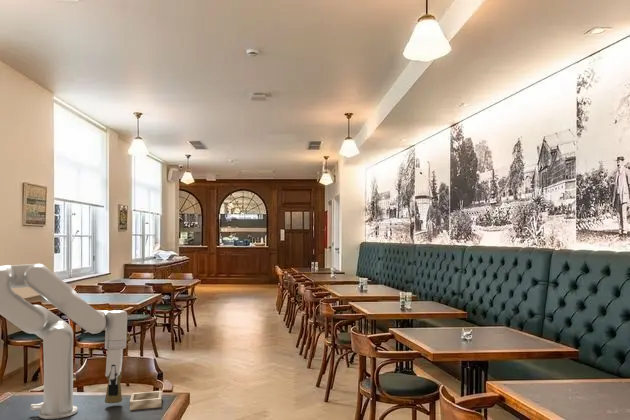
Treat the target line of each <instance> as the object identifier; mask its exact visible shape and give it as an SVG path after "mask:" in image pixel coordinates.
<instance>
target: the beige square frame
mask: <svg viewBox="0 0 630 420" xmlns="http://www.w3.org/2000/svg"><path fill="white" fill-rule="evenodd" d="M162 393H163V391H162V390H155V391H153V390H152V391H145V392H134V393H131V396H130V400H129V410H130V411H133V410H135V411H136V410H145V409H155V408H162V403H163V402H162V401H163V394H162Z"/></svg>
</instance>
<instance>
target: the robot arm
mask: <svg viewBox="0 0 630 420" xmlns="http://www.w3.org/2000/svg"><path fill="white" fill-rule="evenodd" d="M20 288H30V289H31V290H33V291H34V292H35V293H37V294H38V295H40V296H41V297H42V298H43V299H45V300H46V301H47V302H49V303H50V304H51V305H52V306H54V307H55V308H56V309H57V310H58V311H60V312H61V313H63V314H64V315H65V316H67V317H68V318H69V319H70V320H71V321H73V322H74V323H75V324H76V325H78V326H79V327H81V329H83V330H84V331H86V332H88V333H90V334H99V333H101V332H102V331H103V330H105V336H104V349H105V350H107V351H106V363H105V364H106V366H105V377H106V378H107V376H109V374H110V380H109V393H108V395H109V396H117V395H118V384H117V382H118V376H119V375H120V372H121V373H122V366H123V356H124V355H123V354H124V353H123V352H124V349H126V348H127V336H128V335H127V334H128V332H127V331H128V312H127V311H126V310H121V309H114V310H102V309H95V308H94V307H93V306H91V305H90V304H89V303H87V302H86V301H85V300H84V299H83V298H82V297H81V296H80V295H79V294H78V293H77V291H76V290H75V289H74V288H73V287H72V286H71V285H69V284H68V283H67V282H65V281H64V280H63V279H62V278H60V277H59V276H57V274H55V273H54V272H52V271H51V270H50V269H49V267H48V266H46V265H45V264H43V263H30V264H28V263H27V264H10V265H9V264H6V265H0V316H2V317H3V318H5V319H6V320H7V321H8V322H11V323H12V324H13V325H14V326H16V327H17V328H19V329H20V330H21V331H23V332H24V333H26V334H30V335H32V334H33V335H35V336H37V337H38V338H40V339H42V340H43V341H42V343H43V344H42V345H43V346H42V348H43V350H42V351H43V402H40V403H31V404H30V409H29V410H30V411H32V412H36V411H39V412H38V417H39V418H41V419H44V420H56V419H62V418H63V419H64V418H68V417H70V416H72V415H75V414H76V413H77V412H78V409H79V408H78V407H77V406H76V405H74V360H73V359H74V330H73V328H72V326H71V325H70V324H69V323H68V322H67V321H65V320H64V319H62V318H60V316H58V315H57V314H55V313H53V312H52V311H51V310H49V309H48V308H46V307H44V306H43V305H40V304H32V303H31V302H30V301H27V300H26V299H24V297H22V296H21V295H19V294H18V293H16V292H15V291H14V290H13V289H20ZM116 372H117V376H115V374H116Z"/></svg>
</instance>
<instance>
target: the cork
mask: <svg viewBox="0 0 630 420" xmlns="http://www.w3.org/2000/svg"><path fill="white" fill-rule="evenodd" d="M115 376H117V372H116V374H115ZM122 376H123V374H122V371H121V372H120V375H119V376H118V382H117V384H118V395H117V396H109V395H108V393H109V380H110V374H109V376H107V377H106V379H107V381H108V383H107V386H106V392H105V393H106V394H105V400H104V403H105V404H118V403H121V402H122V401H123V397H122V386H121V379H122Z"/></svg>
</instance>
